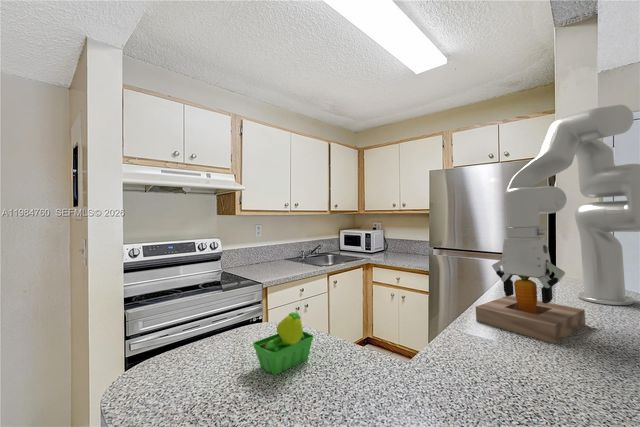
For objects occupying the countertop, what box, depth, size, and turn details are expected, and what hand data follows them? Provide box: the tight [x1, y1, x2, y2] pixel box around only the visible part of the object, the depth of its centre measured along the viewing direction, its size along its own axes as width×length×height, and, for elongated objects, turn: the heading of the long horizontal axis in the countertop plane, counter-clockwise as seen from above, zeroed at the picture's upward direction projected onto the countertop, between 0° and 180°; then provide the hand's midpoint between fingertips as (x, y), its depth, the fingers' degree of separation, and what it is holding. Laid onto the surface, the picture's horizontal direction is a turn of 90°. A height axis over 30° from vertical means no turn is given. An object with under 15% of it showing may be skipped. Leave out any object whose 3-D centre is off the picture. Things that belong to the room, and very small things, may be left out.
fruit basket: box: [252, 311, 314, 376], centre depth 61 cm, size 11×9×11 cm
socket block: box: [474, 295, 586, 344], centre depth 76 cm, size 18×18×4 cm
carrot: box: [513, 276, 538, 314], centre depth 77 cm, size 5×5×15 cm
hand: (527, 298), depth 76 cm, fingers open, 8 cm apart
